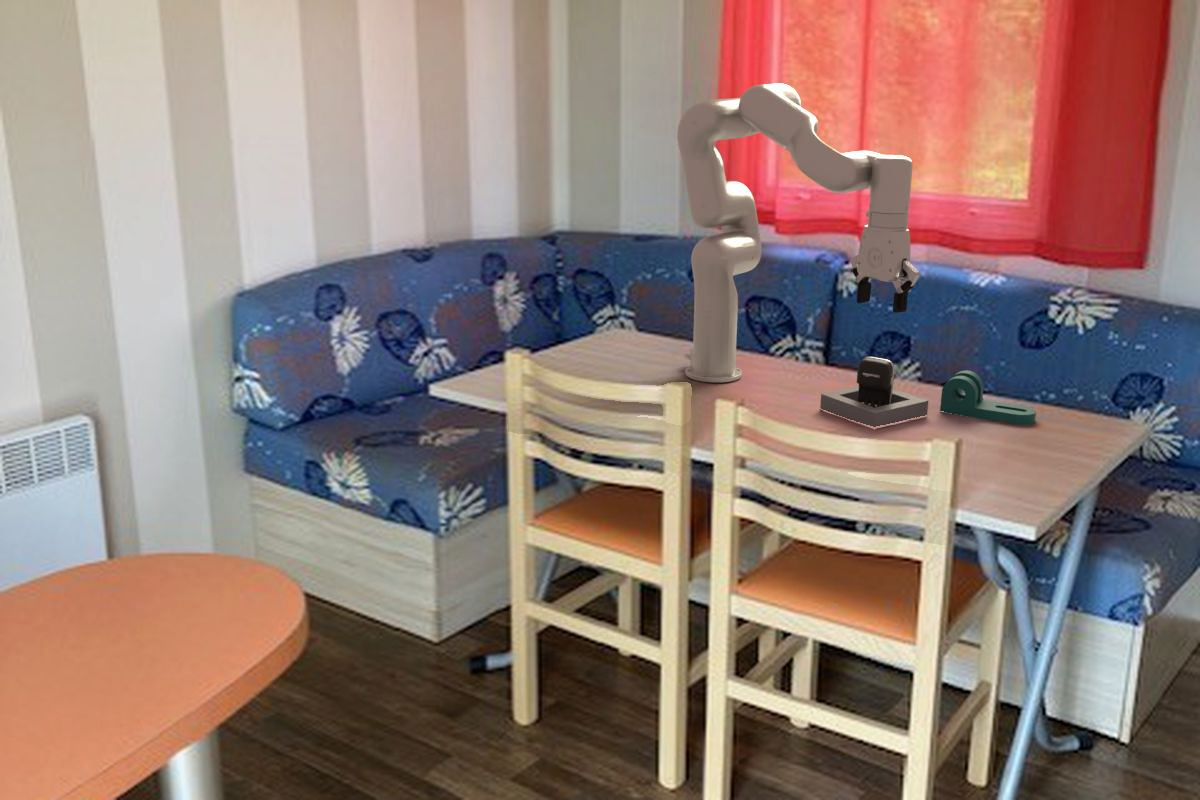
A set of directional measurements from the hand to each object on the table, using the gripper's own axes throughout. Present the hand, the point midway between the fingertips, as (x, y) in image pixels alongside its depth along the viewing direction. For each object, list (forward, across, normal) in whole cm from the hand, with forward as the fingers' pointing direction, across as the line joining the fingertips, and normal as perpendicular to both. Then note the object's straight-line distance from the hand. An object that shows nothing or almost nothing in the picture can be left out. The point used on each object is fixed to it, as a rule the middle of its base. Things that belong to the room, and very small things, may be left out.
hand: (881, 306), depth 242 cm
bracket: (+23, +13, +19) cm, 33 cm away
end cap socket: (+22, 0, 0) cm, 22 cm away
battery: (+22, 0, 0) cm, 22 cm away
